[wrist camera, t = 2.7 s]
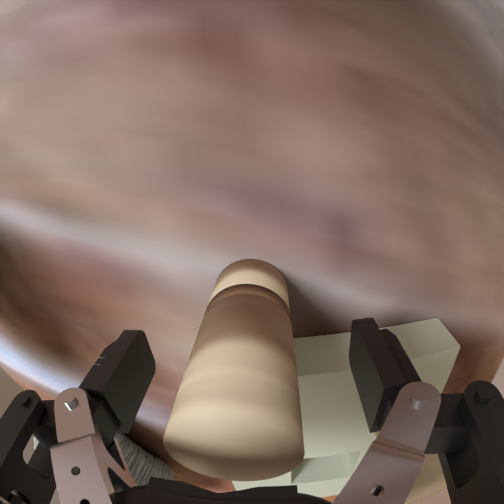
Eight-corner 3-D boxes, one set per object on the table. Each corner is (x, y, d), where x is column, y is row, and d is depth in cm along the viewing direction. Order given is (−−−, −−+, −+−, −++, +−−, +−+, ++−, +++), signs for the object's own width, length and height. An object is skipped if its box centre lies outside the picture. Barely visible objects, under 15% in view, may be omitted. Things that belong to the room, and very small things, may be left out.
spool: (212, 497, 18) (139, 559, 11) (158, 468, 24) (97, 512, 16) (128, 385, 18) (21, 449, 10) (91, 373, 23) (15, 415, 16)
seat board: (203, 342, 16) (162, 485, 7) (437, 317, 14) (513, 423, 6) (243, 476, 22) (236, 552, 13) (383, 460, 21) (399, 532, 12)
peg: (209, 262, 14) (142, 411, 5) (285, 256, 14) (307, 414, 5) (220, 324, 15) (184, 477, 7) (289, 320, 15) (302, 479, 6)
